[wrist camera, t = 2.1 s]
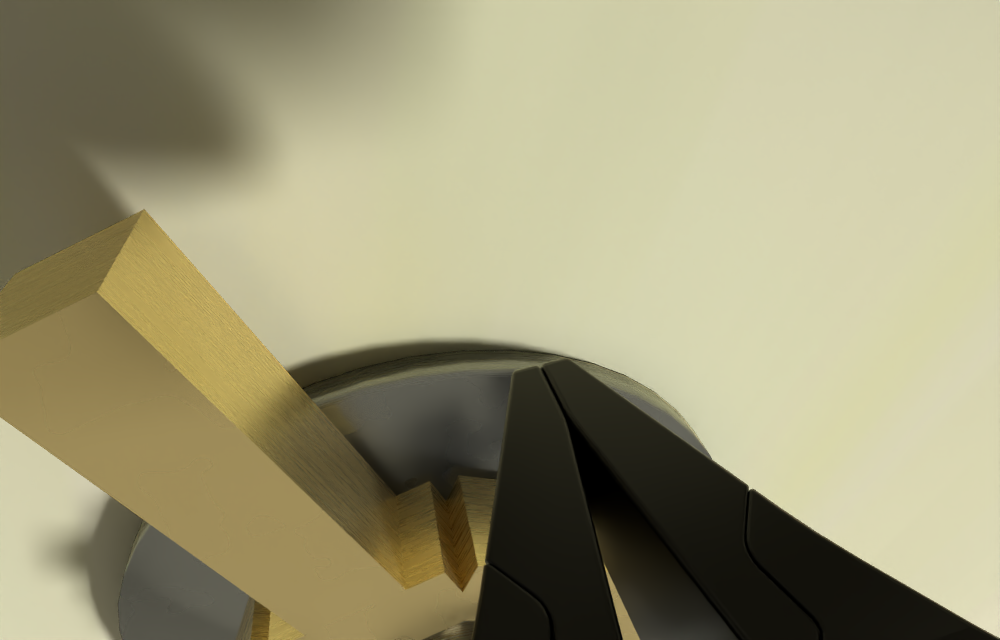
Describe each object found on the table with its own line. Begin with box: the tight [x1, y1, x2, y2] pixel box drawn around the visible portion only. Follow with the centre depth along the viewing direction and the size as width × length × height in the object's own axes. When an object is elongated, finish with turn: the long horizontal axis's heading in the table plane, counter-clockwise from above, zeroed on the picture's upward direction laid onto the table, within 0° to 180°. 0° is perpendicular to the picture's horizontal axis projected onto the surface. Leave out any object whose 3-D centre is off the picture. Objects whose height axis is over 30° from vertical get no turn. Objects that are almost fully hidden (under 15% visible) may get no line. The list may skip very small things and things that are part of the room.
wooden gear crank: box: [0, 209, 640, 640], centre depth 15 cm, size 20×12×4 cm, turn 23°
